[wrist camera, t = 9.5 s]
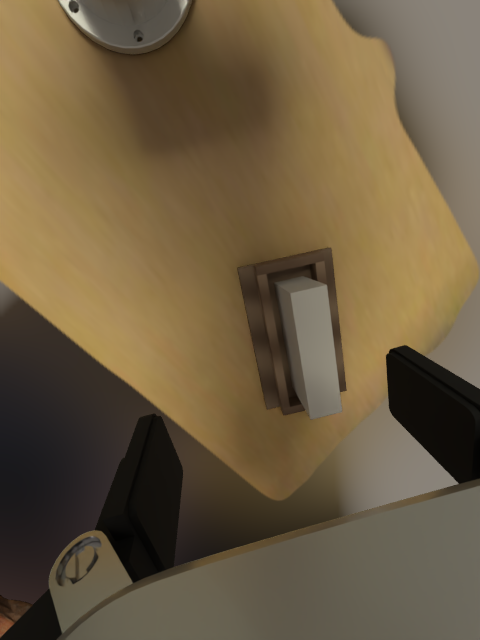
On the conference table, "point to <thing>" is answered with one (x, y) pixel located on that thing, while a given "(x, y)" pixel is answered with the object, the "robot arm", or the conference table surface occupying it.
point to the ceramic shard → (11, 612)
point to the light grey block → (309, 344)
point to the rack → (268, 323)
